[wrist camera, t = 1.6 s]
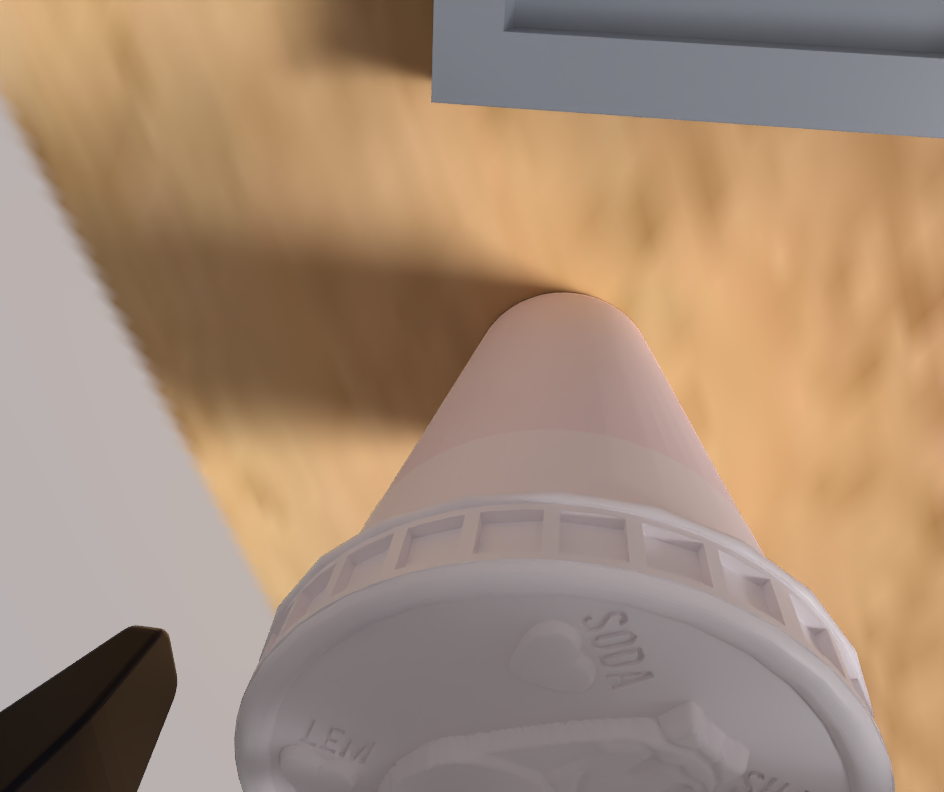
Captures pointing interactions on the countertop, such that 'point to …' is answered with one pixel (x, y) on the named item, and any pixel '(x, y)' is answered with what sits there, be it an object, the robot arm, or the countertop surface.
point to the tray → (701, 60)
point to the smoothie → (557, 605)
